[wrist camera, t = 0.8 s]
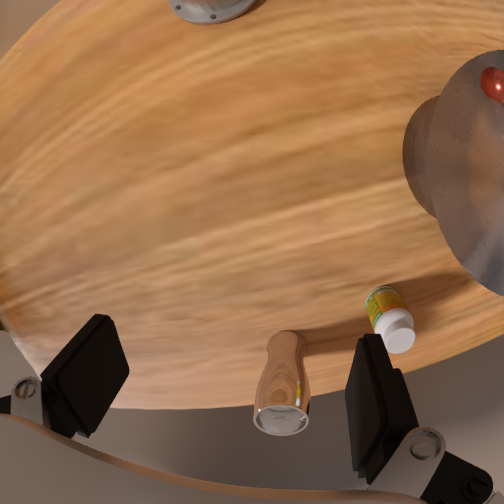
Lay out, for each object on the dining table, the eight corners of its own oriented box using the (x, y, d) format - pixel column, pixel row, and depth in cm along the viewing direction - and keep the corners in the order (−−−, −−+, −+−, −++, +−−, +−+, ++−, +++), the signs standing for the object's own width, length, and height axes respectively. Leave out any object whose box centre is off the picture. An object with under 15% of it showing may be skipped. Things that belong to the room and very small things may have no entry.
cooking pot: (397, 60, 28) (428, 37, 18) (499, 86, 25) (540, 81, 16) (396, 246, 36) (424, 277, 27) (493, 247, 34) (529, 273, 25)
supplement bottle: (365, 286, 39) (382, 325, 30) (400, 283, 38) (424, 320, 29) (363, 318, 41) (377, 360, 32) (396, 315, 40) (416, 355, 31)
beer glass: (313, 357, 44) (315, 432, 31) (272, 365, 46) (262, 439, 32) (302, 323, 42) (302, 399, 28) (258, 333, 44) (242, 408, 30)
